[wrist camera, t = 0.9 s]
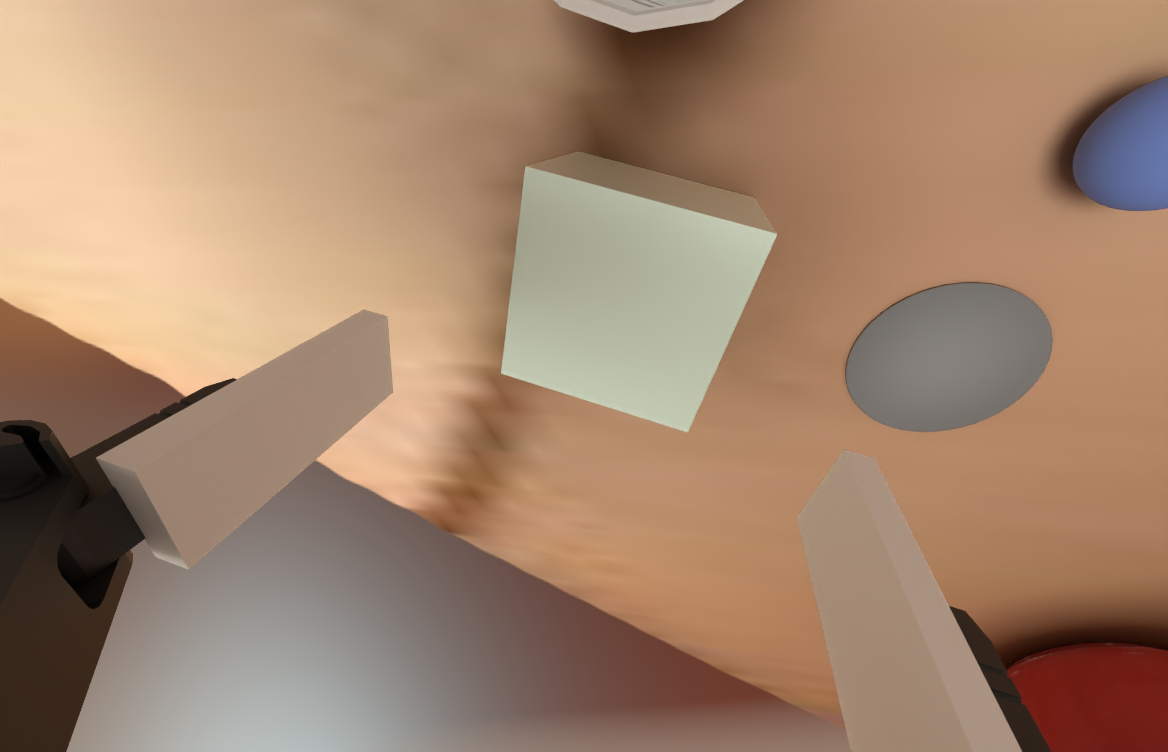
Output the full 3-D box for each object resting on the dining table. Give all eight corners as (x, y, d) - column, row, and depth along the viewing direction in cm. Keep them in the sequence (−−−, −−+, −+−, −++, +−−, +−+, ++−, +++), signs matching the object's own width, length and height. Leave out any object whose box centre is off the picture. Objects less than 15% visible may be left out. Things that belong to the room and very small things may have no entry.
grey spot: (906, 260, 23) (908, 261, 23) (1100, 312, 23) (1103, 313, 22) (815, 402, 29) (816, 404, 29) (968, 448, 28) (969, 450, 28)
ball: (1106, 59, 18) (1227, 42, 14) (1236, 87, 18) (1401, 79, 13) (1016, 185, 21) (1095, 202, 17) (1126, 212, 20) (1235, 237, 16)
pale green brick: (578, 151, 24) (525, 166, 17) (754, 197, 24) (777, 234, 16) (550, 310, 30) (501, 373, 23) (691, 353, 29) (687, 432, 22)
